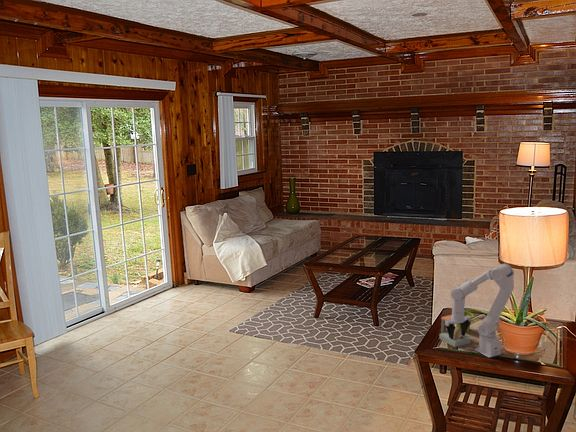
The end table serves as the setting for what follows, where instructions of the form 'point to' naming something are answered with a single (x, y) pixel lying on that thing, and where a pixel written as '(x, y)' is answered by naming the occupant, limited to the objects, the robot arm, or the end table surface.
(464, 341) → the socket board
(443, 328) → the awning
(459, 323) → the plant pot
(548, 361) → the end table surface
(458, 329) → the peg
